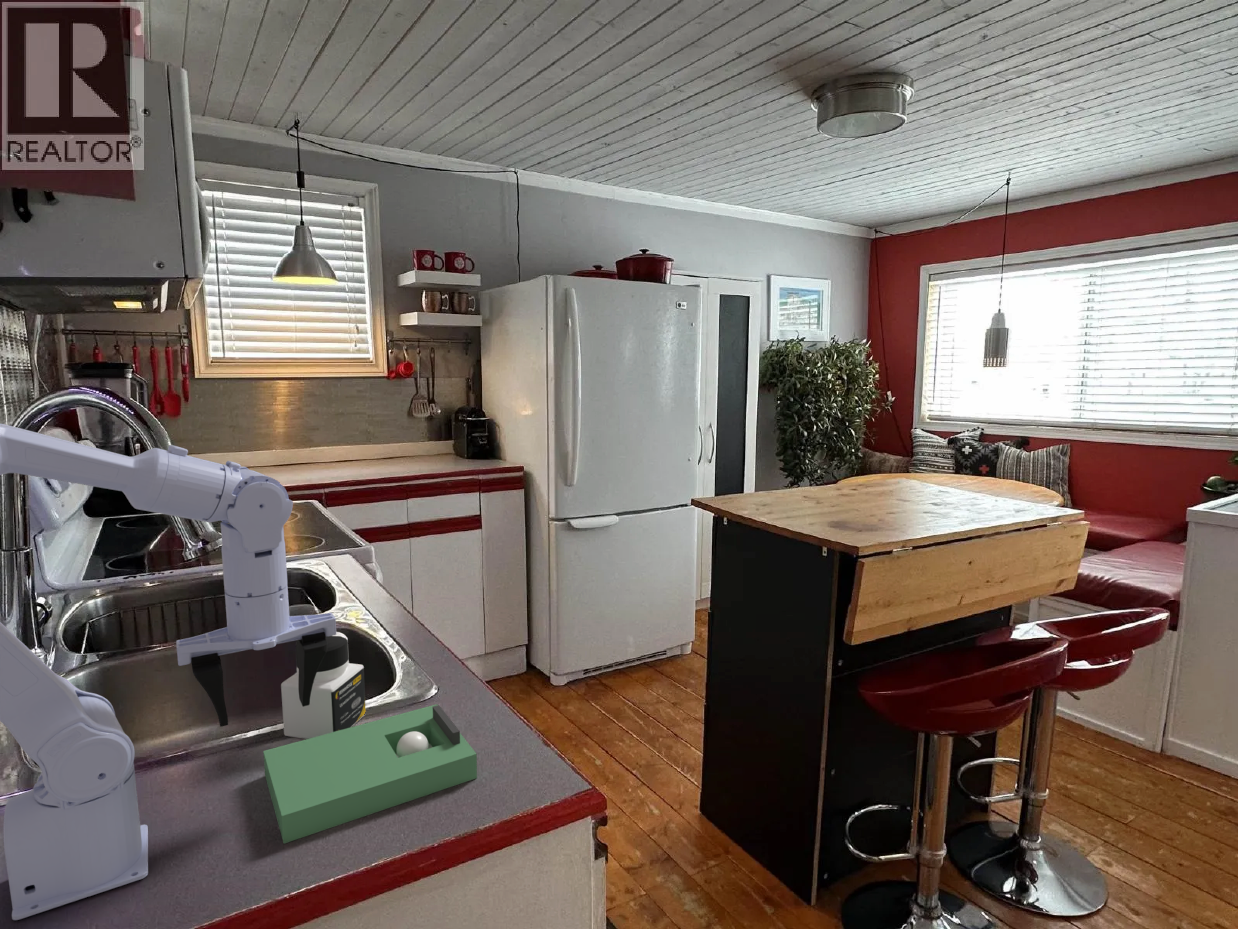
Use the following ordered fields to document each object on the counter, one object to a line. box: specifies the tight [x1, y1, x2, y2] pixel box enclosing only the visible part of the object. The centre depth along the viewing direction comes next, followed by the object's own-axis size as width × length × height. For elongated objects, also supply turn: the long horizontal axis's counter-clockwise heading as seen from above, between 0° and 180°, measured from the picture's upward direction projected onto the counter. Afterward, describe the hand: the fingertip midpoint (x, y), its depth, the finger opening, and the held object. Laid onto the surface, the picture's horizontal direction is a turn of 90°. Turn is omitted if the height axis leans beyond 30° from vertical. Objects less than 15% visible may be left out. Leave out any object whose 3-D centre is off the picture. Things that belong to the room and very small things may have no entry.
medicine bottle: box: [280, 631, 367, 740], centre depth 89 cm, size 7×7×12 cm
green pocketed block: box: [262, 704, 478, 844], centre depth 79 cm, size 20×13×4 cm, turn 124°
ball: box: [396, 731, 429, 758], centre depth 82 cm, size 4×4×4 cm
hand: (265, 711), depth 74 cm, fingers open, 7 cm apart
